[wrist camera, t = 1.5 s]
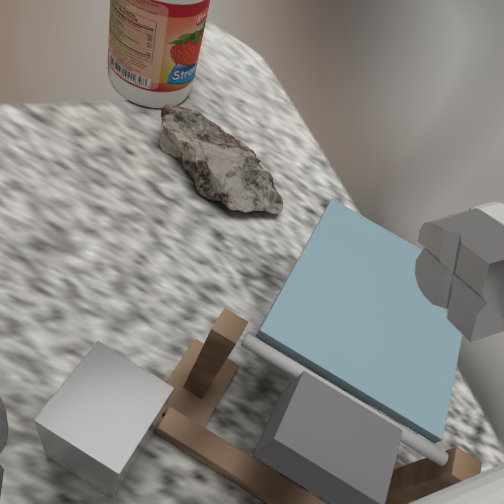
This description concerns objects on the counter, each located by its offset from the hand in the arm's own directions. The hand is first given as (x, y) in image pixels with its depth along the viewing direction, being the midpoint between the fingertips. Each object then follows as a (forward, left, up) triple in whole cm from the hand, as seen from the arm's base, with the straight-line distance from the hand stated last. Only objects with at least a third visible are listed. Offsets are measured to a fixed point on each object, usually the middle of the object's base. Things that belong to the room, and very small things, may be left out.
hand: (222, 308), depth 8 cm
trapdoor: (+8, +13, -19) cm, 24 cm away
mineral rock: (-9, +29, -28) cm, 41 cm away
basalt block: (-3, +2, -27) cm, 28 cm away
